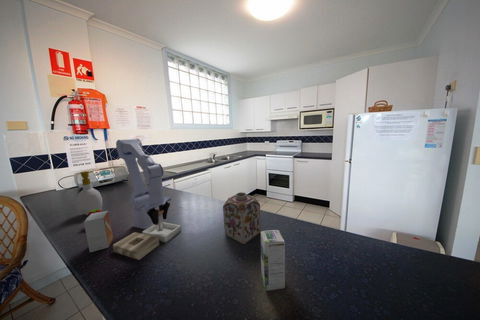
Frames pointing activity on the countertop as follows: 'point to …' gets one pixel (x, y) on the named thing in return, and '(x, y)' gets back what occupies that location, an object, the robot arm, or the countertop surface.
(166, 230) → the tray
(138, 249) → the hitch block
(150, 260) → the countertop surface
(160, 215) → the pin
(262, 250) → the syrup box
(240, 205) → the decorative jar
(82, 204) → the soap bottle
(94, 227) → the small box
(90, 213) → the strawberry
